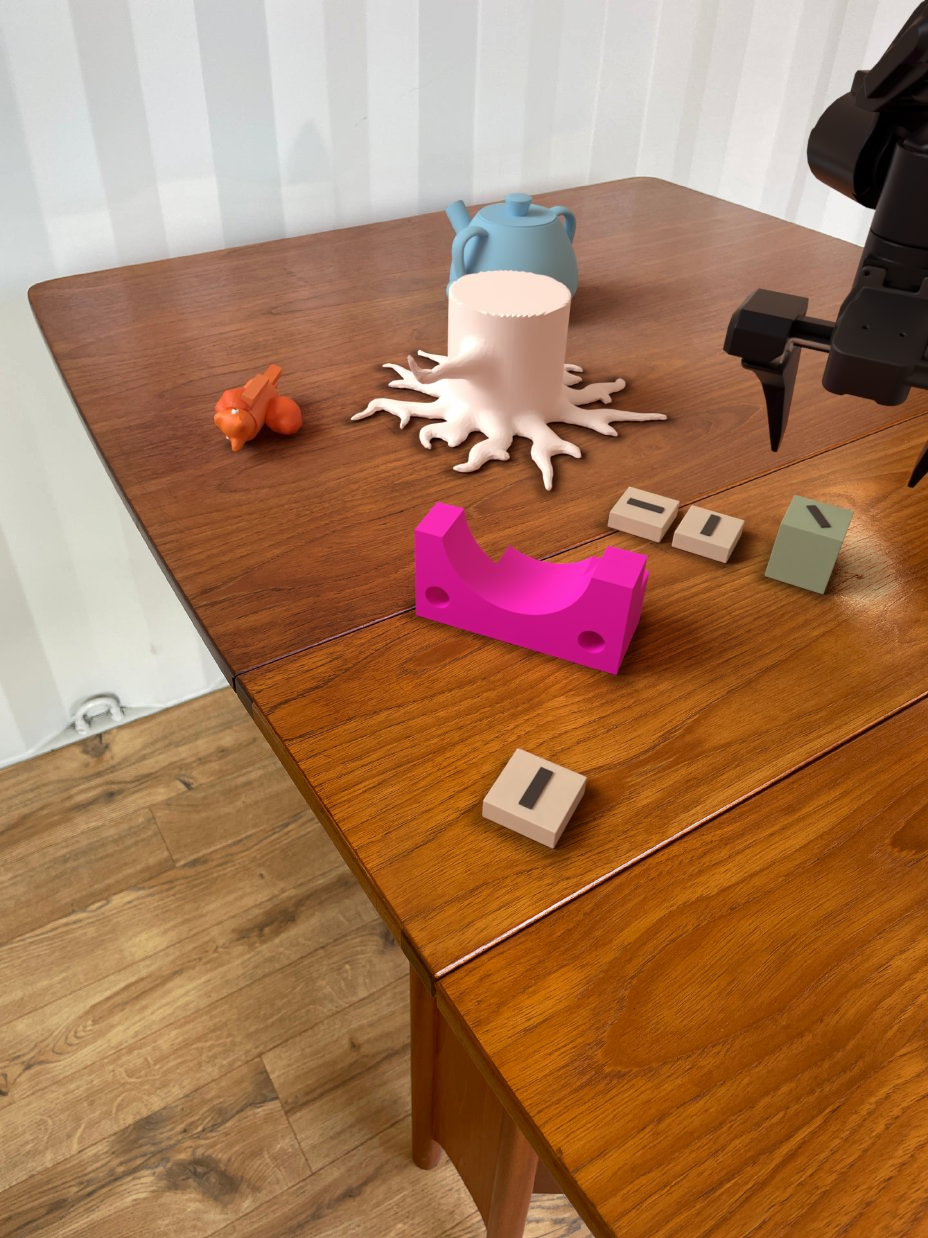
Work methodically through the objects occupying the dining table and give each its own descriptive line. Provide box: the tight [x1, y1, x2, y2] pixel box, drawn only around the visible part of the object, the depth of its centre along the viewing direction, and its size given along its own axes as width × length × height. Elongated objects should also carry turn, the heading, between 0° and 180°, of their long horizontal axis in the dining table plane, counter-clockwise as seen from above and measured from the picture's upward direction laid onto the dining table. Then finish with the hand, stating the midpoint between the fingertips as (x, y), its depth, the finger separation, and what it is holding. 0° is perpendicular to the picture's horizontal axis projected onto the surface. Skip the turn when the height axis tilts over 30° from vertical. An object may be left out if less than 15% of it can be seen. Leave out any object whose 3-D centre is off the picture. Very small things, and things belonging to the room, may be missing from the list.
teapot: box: [444, 192, 579, 300], centre depth 106 cm, size 20×20×13 cm
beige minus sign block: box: [481, 747, 588, 850], centre depth 51 cm, size 4×4×2 cm
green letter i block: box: [764, 494, 855, 595], centre depth 68 cm, size 4×4×5 cm
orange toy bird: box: [212, 363, 303, 453], centre depth 83 cm, size 5×8×12 cm
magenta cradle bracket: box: [414, 501, 650, 676], centre depth 62 cm, size 15×6×8 cm, turn 67°
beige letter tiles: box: [607, 486, 746, 564], centre depth 73 cm, size 10×4×2 cm, turn 62°
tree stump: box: [350, 270, 668, 492], centre depth 86 cm, size 28×28×11 cm
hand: (841, 466), depth 62 cm, fingers open, 9 cm apart
